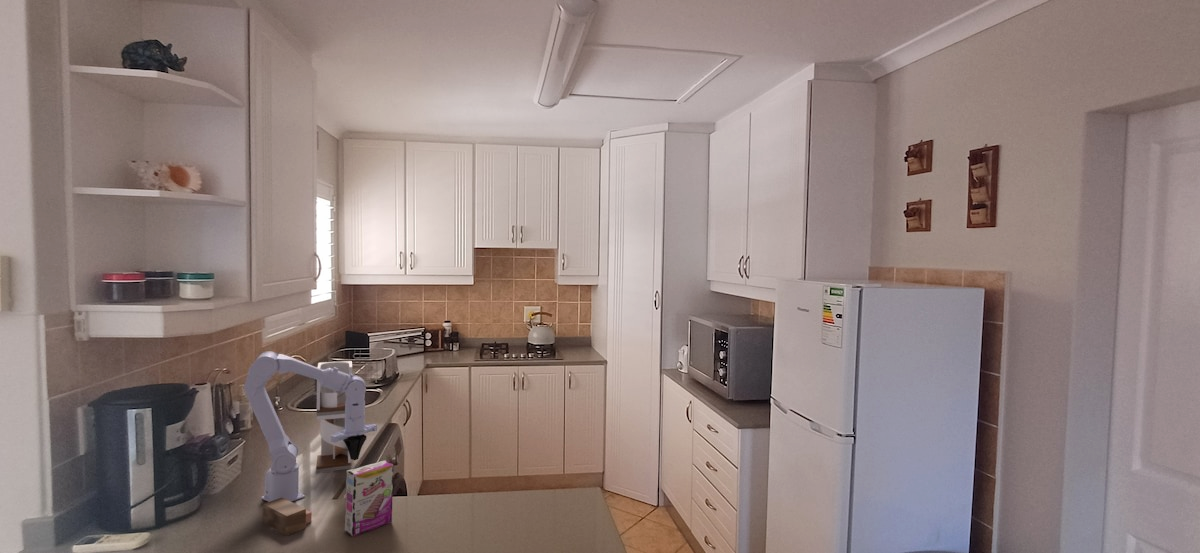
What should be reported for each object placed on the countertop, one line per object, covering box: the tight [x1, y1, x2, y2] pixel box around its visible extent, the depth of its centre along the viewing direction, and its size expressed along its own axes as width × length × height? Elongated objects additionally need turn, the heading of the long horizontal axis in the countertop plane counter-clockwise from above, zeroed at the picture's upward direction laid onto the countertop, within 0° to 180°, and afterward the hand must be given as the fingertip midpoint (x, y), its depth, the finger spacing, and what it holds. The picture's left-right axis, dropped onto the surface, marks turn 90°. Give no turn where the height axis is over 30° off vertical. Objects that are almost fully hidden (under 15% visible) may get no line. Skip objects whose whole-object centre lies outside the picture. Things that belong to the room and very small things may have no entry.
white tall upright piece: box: [315, 360, 353, 474], centre depth 188 cm, size 11×11×35 cm
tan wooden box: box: [262, 498, 307, 537], centre depth 146 cm, size 12×5×5 cm, turn 58°
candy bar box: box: [344, 460, 394, 537], centre depth 147 cm, size 11×5×16 cm, turn 141°
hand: (354, 459), depth 170 cm, fingers closed
